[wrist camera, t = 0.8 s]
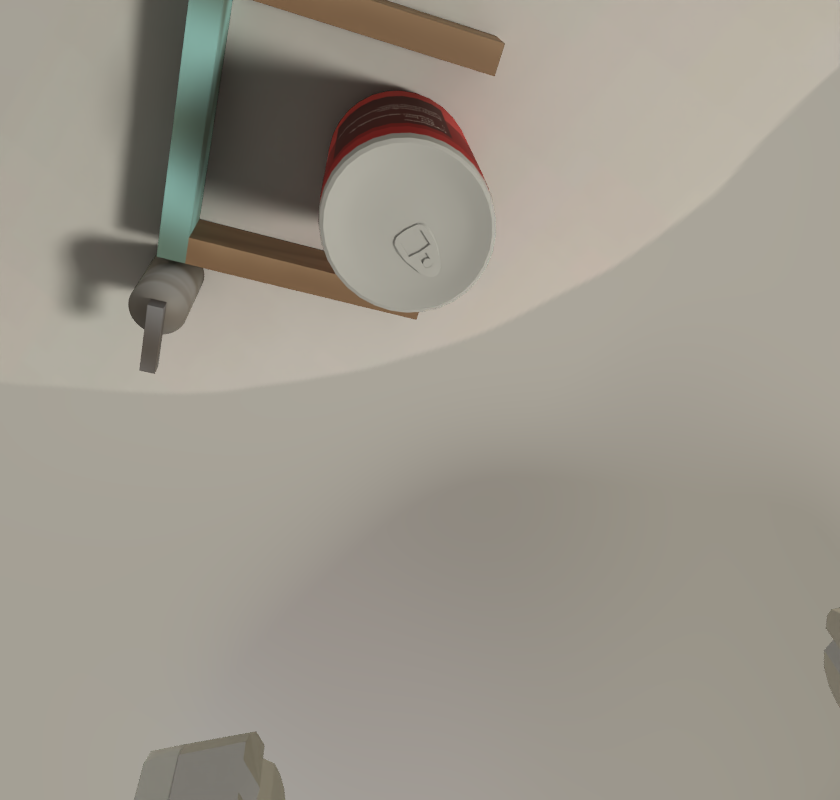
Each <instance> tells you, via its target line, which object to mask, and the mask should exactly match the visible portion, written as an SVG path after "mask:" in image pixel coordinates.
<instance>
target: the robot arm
mask: <svg viewBox="0 0 840 800" xmlns="http://www.w3.org/2000/svg"><path fill="white" fill-rule="evenodd" d="M826 629H827V631H828V632H829V634H830V635H831V637H832V638H833V641H832V642H831V643H830V644H829V645H828V647H827V648H826V649H825V650H824V669H825V673H826V676H827V680H828V684H829V687H830V689H831V691H832V694H833V696H834V698H835V700H836V702H837V704H838V705H839V707H840V607H839V608H835V609H831V611H830V612H829V613H828V615H827V621H826ZM263 754H264V743H263V742H262V740H261V739H260V737H259V735H258V734H257V732H250V733H245V734H239V735H234V736H228V737H223V738H217V739H212V740H206V741H201V742H195V743H190V744H184V745H179V746H174V747H170V748H164V749H159V750H155V751H151V753H150V754H149V756H148V758H147V759H146V761H145V762H144V764H143V768H142V772H141V775H140V779H139V783H138V787H137V790H136V794H135V798H134V800H285V792H284V786H283V783H282V779H281V776H280V773H279V771H278V769H277V767H276V765H275V764H274V763H272V762H270V761H268V760H266V759H264V758H263Z"/></svg>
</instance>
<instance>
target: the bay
mask: <svg viewBox="0 0 840 800" xmlns="http://www.w3.org/2000/svg"><path fill="white" fill-rule="evenodd" d="M232 1H233V0H189V2H188V10H187V18H186V26H185V34H184V42H183V50H182V58H181V66H180V74H179V82H178V90H177V98H176V106H175V114H174V122H173V130H172V138H171V146H170V154H169V162H168V170H167V178H166V186H165V193H164V201H163V209H162V217H161V225H160V233H159V241H158V249H157V255H156V256H155V257H154V259H153V261H152V262H151V264H150V265H149V267H148V268H147V270H146V272H145V273H144V275H143V276H142V278H141V279H140V281H139V282H138V284H137V286H136V287H135V289H134V290H133V292H132V294H131V295H130V298H129V311H130V314H131V316H132V318H133V319H134V321H135V322H136V323H137V324H138V325H139V326H140V327H142V328H143V329H144V337H143V346H142V354H141V362H140V371H144V372H149V373H154V374H155V372H156V370H157V368H158V363H159V356H160V349H161V341H162V334H169V333H172V332H174V331H176V330H178V329H179V328H180V327H181V326H182V325H183V324H184V322H185V320H186V318H187V316H188V314H189V312H190V309H191V307H192V305H193V303H194V301H195V299H196V296H197V294H198V292H199V290H200V288H201V286H202V283H203V280H204V270H203V268H206V269H210V270H214V271H218V272H222V273H226V274H230V275H235V276H239V277H243V278H247V279H251V280H255V281H259V282H263V283H268V284H272V285H276V286H280V287H284V288H288V289H292V290H296V291H301V292H305V293H309V294H313V295H317V296H321V297H325V298H329V299H334V300H338V301H342V302H346V303H350V304H354V305H358V306H362V307H366V308H371V309H375V310H379V311H383V312H387V313H391V314H395V315H399V316H404V317H408V318H412V319H417V316H418V313H419V312H410V313H405V312H398V311H390V310H387V309H384V308H381V307H378V306H375V305H373V304H371V303H369V302H367V301H366V300H364V299H362V298H360V297H359V296H357V295H356V294H355V293H354V292H352V291H351V290H350V289H349V288H348V287H346V285H345V284H344V283H343V282H342V281H341V280H340V278H339V277H338V276H337V275H336V274H335V272H334V270H333V268H332V267H331V265H330V263H329V262H328V260H327V257H326V254H325V252H324V251H322V250H318V249H314V248H310V247H307V246H303V245H299V244H295V243H291V242H287V241H283V240H279V239H275V238H271V237H267V236H263V235H259V234H256V233H252V232H248V231H244V230H240V229H236V228H232V227H228V226H224V225H220V224H216V223H212V222H208V221H204V220H201V219H200V212H201V206H202V199H203V192H204V186H205V179H206V173H207V166H208V159H209V153H210V146H211V139H212V133H213V126H214V120H215V113H216V106H217V100H218V93H219V87H220V80H221V73H222V67H223V60H224V54H225V47H226V40H227V34H228V27H229V21H230V14H231V7H232ZM253 1H257V2H260V3H263V4H266V5H269V6H273V7H276V8H279V9H282V10H285V11H288V12H292V13H295V14H298V15H301V16H304V17H308V18H311V19H314V20H317V21H320V22H323V23H327V24H330V25H333V26H336V27H339V28H343V29H346V30H349V31H352V32H355V33H358V34H362V35H365V36H368V37H371V38H374V39H377V40H381V41H384V42H387V43H390V44H393V45H397V46H400V47H403V48H406V49H409V50H412V51H416V52H419V53H422V54H425V55H428V56H432V57H435V58H438V59H441V60H444V61H447V62H451V63H454V64H457V65H460V66H463V67H467V68H470V69H473V70H476V71H479V72H482V73H486V74H489V75H492V76H495V73H496V70H497V67H498V64H499V61H500V57H501V54H502V51H503V48H504V45H505V43H503V42H502V41H501V40H500V39H499V38H498V37H496V36H494V35H491V34H488V33H485V32H482V31H479V30H476V29H473V28H470V27H466V26H463V25H460V24H457V23H454V22H451V21H448V20H445V19H442V18H439V17H436V16H433V15H430V14H427V13H423V12H420V11H417V10H414V9H411V8H408V7H405V6H402V5H399V4H396V3H393V2H390V1H387V0H253Z"/></svg>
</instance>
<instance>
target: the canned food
mask: <svg viewBox="0 0 840 800" xmlns="http://www.w3.org/2000/svg"><path fill="white" fill-rule="evenodd" d="M318 222H319V230H320V237H321V243H322V246H323V249H324V252H325V254H326V257H327V260H328V262H329V263H330V265H331V267H332V268H333V270H334V272H335V274H336V275H337V276H338V277H339V278H340V280H341V281H342V282H343V283H344V284H345V285H346V287H348V288H349V289H350V290H351V291H352V292H354V293H355V294H356V295H357V296H359V297H360V298H362V299H364V300H366V301H367V302H369V303H371V304H373V305H375V306H378V307H381V308H384V309H387V310H390V311H398V312H405V313H410V312H424V311H428V310H433V309H437V308H440V307H442V306H444V305H447V304H449V303H451V302H453V301H455V300H456V299H458V298H459V297H460V296H462V295H463V294H465V293H466V292H467V291H468V290H469V289H470V288H471V287H472V286H473V285H474V284H475V283H476V282H477V281H478V280H479V278H480V276H481V275H482V273H483V272H484V270H485V269H486V267H487V265H488V262H489V260H490V257H491V255H492V252H493V248H494V243H495V237H496V217H495V210H494V205H493V201H492V196H491V194H490V192H489V188H488V186H487V184H486V181H485V179H484V177H483V174H482V172H481V170H480V168H479V166H478V164H477V162H476V160H475V158H474V156H473V153H472V151H471V149H470V147H469V145H468V143H467V141H466V139H465V137H464V135H463V133H462V131H461V129H460V127H459V126H458V124H457V123H456V122H455V120H454V119H453V117H452V116H451V115H450V114H449V113H448V112H447V111H446V110H445V109H444V108H443V107H441V106H440V105H438V104H437V103H435V102H434V101H432V100H431V99H429V98H426V97H424V96H421V95H419V94H416V93H412V92H406V91H386V92H382V93H378V94H374V95H371V96H369V97H368V98H366V99H364V100H362V101H360V102H358V103H357V104H356V105H355V106H354V107H352V108H351V109H350V110H349V111H348V112H347V113H346V114H345V116H344V117H343V118H342V119H341V121H340V122H339V124H338V126H337V128H336V130H335V132H334V134H333V137H332V140H331V144H330V148H329V153H328V158H327V163H326V168H325V174H324V179H323V184H322V190H321V195H320V204H319V219H318Z"/></svg>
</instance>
